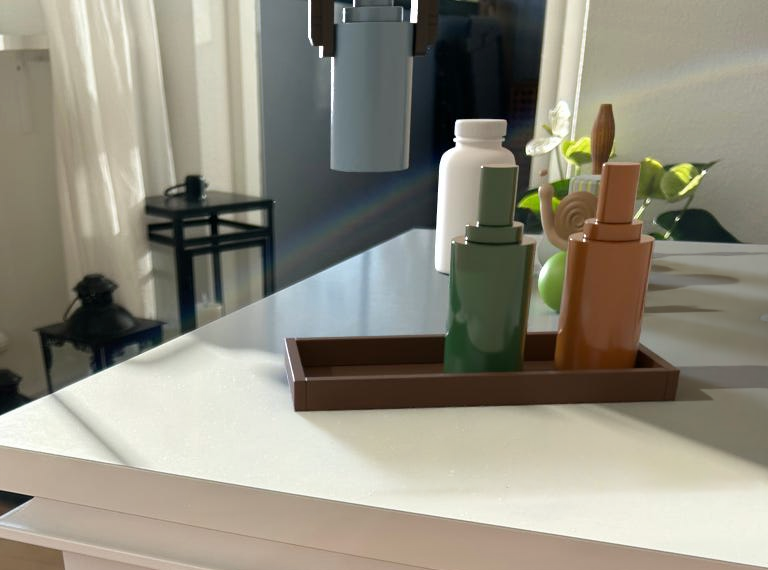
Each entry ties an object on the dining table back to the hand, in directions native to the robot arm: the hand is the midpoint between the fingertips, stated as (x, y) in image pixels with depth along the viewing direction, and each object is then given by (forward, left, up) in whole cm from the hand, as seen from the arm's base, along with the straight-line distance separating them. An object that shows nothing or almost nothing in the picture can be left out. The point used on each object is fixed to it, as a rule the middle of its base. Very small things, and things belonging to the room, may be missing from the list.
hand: (372, 55), depth 62 cm
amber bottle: (-17, 0, -20) cm, 26 cm away
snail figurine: (-21, -25, -21) cm, 39 cm away
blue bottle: (0, 0, -6) cm, 6 cm away
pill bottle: (-17, -46, -21) cm, 54 cm away
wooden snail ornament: (-28, -39, -21) cm, 53 cm away
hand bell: (-33, -54, -21) cm, 67 cm away
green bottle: (-8, 0, -20) cm, 22 cm away
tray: (-7, 0, -21) cm, 22 cm away
